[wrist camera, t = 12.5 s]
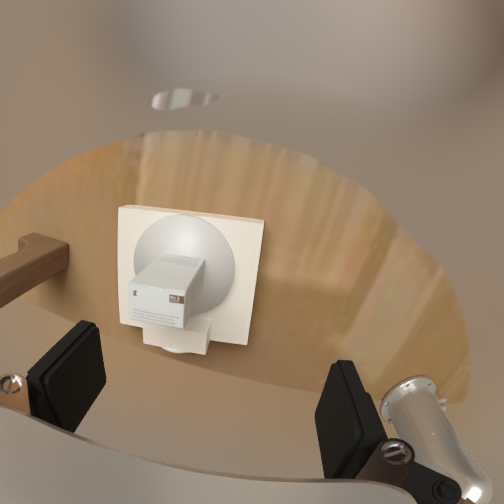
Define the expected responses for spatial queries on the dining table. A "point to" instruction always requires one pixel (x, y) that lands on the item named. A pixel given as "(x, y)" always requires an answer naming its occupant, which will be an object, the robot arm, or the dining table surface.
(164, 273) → the skincare box
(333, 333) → the dining table surface
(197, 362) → the dining table surface
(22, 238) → the wooden block
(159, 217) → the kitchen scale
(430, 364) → the dining table surface
